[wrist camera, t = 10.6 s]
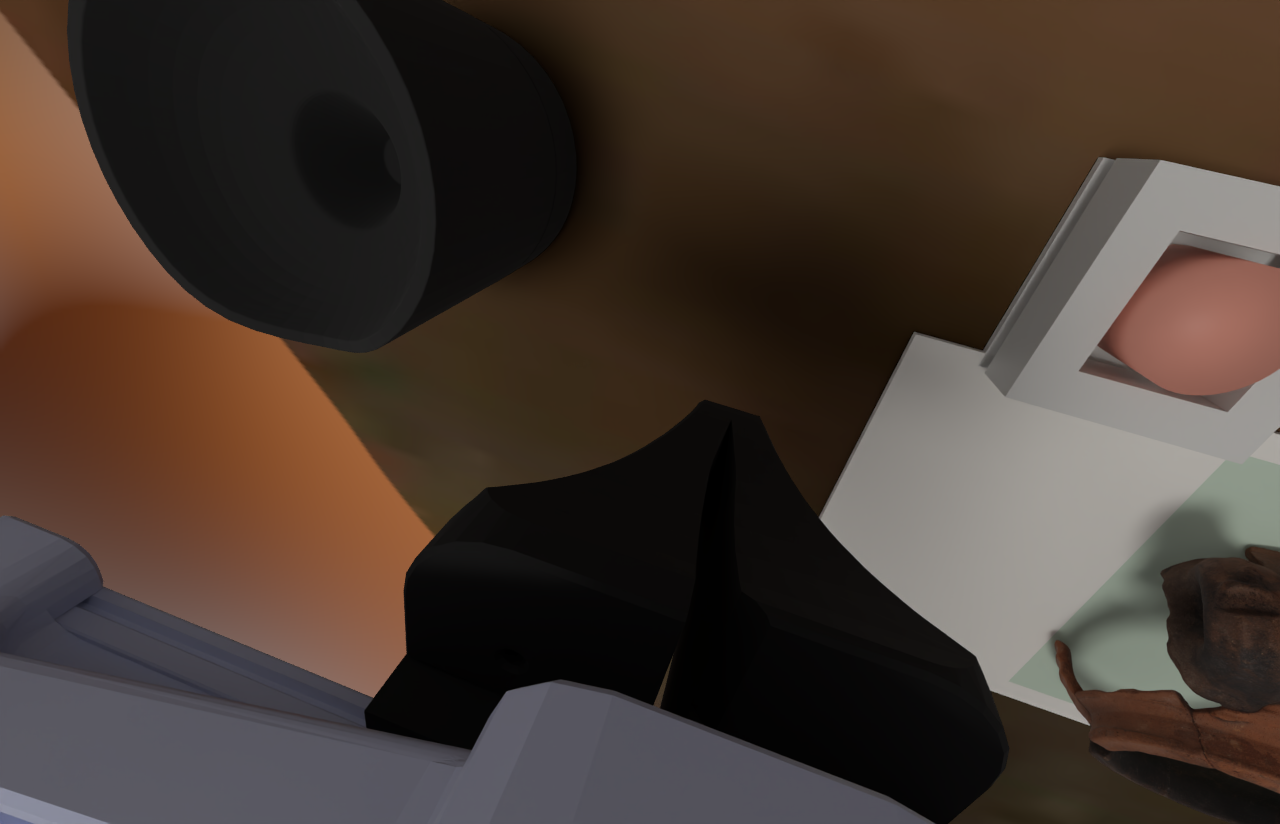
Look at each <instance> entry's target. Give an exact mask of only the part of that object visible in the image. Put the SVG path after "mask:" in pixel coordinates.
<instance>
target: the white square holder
mask: <svg viewBox="0 0 1280 824" xmlns="http://www.w3.org/2000/svg"><path fill="white" fill-rule="evenodd" d="M1172 244H1177V245H1187V246H1193V247H1197V248H1201V249H1205V250H1209V251H1213V252H1216V253H1220V254H1224V255H1228V256H1232V257H1236V258H1240V259H1244V260H1248V261H1252V262H1256V263H1260V264H1264V265H1268V266H1272V267H1276V268H1280V186H1275V185H1271V184H1266V183H1262V182H1257V181H1253V180H1248V179H1244V178H1239V177H1235V176H1230V175H1226V174H1221V173H1217V172H1212V171H1208V170H1203V169H1199V168H1194V167H1190V166H1185V165H1181V164H1177V163H1172V162H1168V161H1163V160H1150V159H1127V158H1117V159H1116V160H1113V159H1108V158H1103V157H1098V159H1097V161H1096V162H1095V164H1094V166H1093V167H1092V169H1091V171H1090V172H1089V174H1088V176H1087V177H1086V179H1085V181H1084V182H1083V184H1082V186H1081V187H1080V189H1079V191H1078V192H1077V194H1076V196H1075V197H1074V199H1073V201H1072V202H1071V204H1070V206H1069V207H1068V209H1067V211H1066V213H1065V214H1064V216H1063V218H1062V219H1061V221H1060V223H1059V224H1058V226H1057V228H1056V229H1055V231H1054V233H1053V234H1052V236H1051V238H1050V239H1049V241H1048V243H1047V244H1046V246H1045V248H1044V249H1043V251H1042V253H1041V254H1040V256H1039V258H1038V259H1037V261H1036V263H1035V264H1034V266H1033V268H1032V269H1031V271H1030V273H1029V274H1028V276H1027V278H1026V279H1025V281H1024V283H1023V284H1022V286H1021V288H1020V289H1019V291H1018V293H1017V294H1016V296H1015V298H1014V299H1013V301H1012V303H1011V304H1010V306H1009V308H1008V309H1007V311H1006V313H1005V314H1004V316H1003V318H1002V319H1001V321H1000V323H999V324H998V326H997V328H996V329H995V331H994V333H993V334H992V336H991V338H990V339H989V341H988V343H987V345H986V346H985V348H984V350H983V351H984V352H985V353H986V355H985V356H984V358H983V359H985V357H986V359H985V360H983V359H982V361H981V363H982V364H979V365H978V366H981V367H985V368H987V370H986V371H985V374H986V375H987V377H988V378H989V379H990V380H991V381H992V382H993V384H994V385H995V386H996V387H997V388H998V389H999V391H1000V392H1001V393H1002V394H1003V395H1004V396H1005V397H1007V398H1010V399H1014V400H1017V401H1021V402H1024V403H1028V404H1031V405H1035V406H1038V407H1042V408H1045V409H1049V410H1052V411H1056V412H1059V413H1063V414H1066V415H1070V416H1073V417H1077V418H1080V419H1084V420H1087V421H1091V422H1094V423H1098V424H1102V425H1105V426H1109V427H1112V428H1116V429H1119V430H1123V431H1126V432H1130V433H1133V434H1137V435H1140V436H1144V437H1147V438H1151V439H1154V440H1158V441H1161V442H1165V443H1168V444H1172V445H1175V446H1179V447H1182V448H1186V449H1189V450H1193V451H1196V452H1200V453H1203V454H1207V455H1210V456H1214V457H1217V458H1221V459H1224V460H1228V461H1231V462H1235V463H1238V464H1243V463H1244V462H1245V461H1246V460H1247V459H1248V458H1249V457H1250V456H1251V455H1252V454H1253V453H1254V452H1255V451H1256V450H1257V449H1258V448H1259V447H1260V446H1261V445H1262V444H1263V443H1264V442H1265V441H1266V440H1267V439H1268V438H1269V437H1270V436H1271V435H1272V434H1273V433H1274V432H1275V431H1276V430H1277V429H1278V428H1279V427H1280V369H1279V370H1277V371H1276V372H1274V373H1273V374H1271V375H1269V376H1267V377H1266V378H1264V379H1262V380H1260V381H1258V382H1256V383H1253V384H1251V385H1249V386H1246V387H1243V388H1240V389H1237V390H1234V391H1230V392H1226V393H1220V394H1214V395H1184V394H1179V393H1174V392H1171V391H1168V390H1166V389H1164V388H1162V387H1160V386H1158V385H1156V384H1155V383H1153V382H1152V381H1150V380H1149V379H1147V378H1145V377H1144V376H1142V375H1141V374H1139V373H1138V372H1136V371H1135V370H1133V369H1132V368H1130V367H1129V366H1127V365H1126V364H1124V363H1123V362H1121V361H1119V360H1118V359H1116V358H1115V357H1113V356H1112V355H1110V354H1109V353H1107V352H1106V351H1104V350H1103V349H1101V348H1100V347H1098V346H1097V345H1098V343H1099V342H1100V340H1101V339H1102V338H1103V336H1104V335H1105V333H1106V332H1107V331H1108V329H1109V328H1110V326H1111V325H1112V324H1113V322H1114V321H1115V319H1116V318H1117V317H1118V315H1119V314H1120V313H1121V311H1122V310H1123V308H1124V307H1125V306H1126V304H1127V303H1128V301H1129V300H1130V299H1131V297H1132V296H1133V294H1134V293H1135V292H1136V290H1137V289H1138V288H1139V286H1140V285H1141V283H1142V282H1143V281H1144V279H1145V278H1146V276H1147V275H1148V274H1149V272H1150V271H1151V269H1152V268H1153V267H1154V265H1155V264H1156V262H1157V261H1158V260H1159V258H1160V257H1161V256H1162V254H1163V253H1164V251H1165V250H1166V249H1167V247H1168V246H1169V245H1172ZM989 356H990V357H989ZM987 357H988V358H987ZM984 361H986V362H984ZM987 361H988V362H987ZM991 361H992V362H991ZM983 363H984V365H985V366H984V365H983ZM987 365H988V366H987Z"/></svg>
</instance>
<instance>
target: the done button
mask: <svg viewBox="0 0 1280 824" xmlns="http://www.w3.org/2000/svg"><path fill="white" fill-rule="evenodd" d="M1097 346H1098V347H1100V348H1101V349H1103V350H1104V351H1106V352H1107V353H1109V354H1110V355H1112V356H1113V357H1115V358H1116V359H1118V360H1119V361H1121V362H1123V363H1124V364H1126V365H1127V366H1129V367H1130V368H1132V369H1133V370H1135V371H1136V372H1138V373H1139V374H1141V375H1142V376H1144V377H1145V378H1147V379H1149V380H1150V381H1152V382H1153V383H1155V384H1156V385H1158V386H1160V387H1162V388H1164V389H1166V390H1168V391H1171V392H1174V393H1179V394H1184V395H1214V394H1220V393H1226V392H1230V391H1234V390H1237V389H1240V388H1243V387H1246V386H1249V385H1251V384H1253V383H1256V382H1258V381H1260V380H1262V379H1264V378H1266V377H1267V376H1269V375H1271V374H1273V373H1274V372H1276V371H1277V370H1279V369H1280V268H1276V267H1272V266H1268V265H1264V264H1260V263H1256V262H1252V261H1248V260H1244V259H1240V258H1236V257H1232V256H1228V255H1224V254H1220V253H1216V252H1213V251H1209V250H1205V249H1201V248H1197V247H1193V246H1187V245H1177V244H1172V245H1169V246H1168V247H1167V249H1166V250H1165V251H1164V253H1163V254H1162V256H1161V257H1160V258H1159V260H1158V261H1157V262H1156V264H1155V265H1154V267H1153V268H1152V269H1151V271H1150V272H1149V274H1148V275H1147V276H1146V278H1145V279H1144V281H1143V282H1142V283H1141V285H1140V286H1139V288H1138V289H1137V290H1136V292H1135V293H1134V294H1133V296H1132V297H1131V299H1130V300H1129V301H1128V303H1127V304H1126V306H1125V307H1124V308H1123V310H1122V311H1121V313H1120V314H1119V315H1118V317H1117V318H1116V319H1115V321H1114V322H1113V324H1112V325H1111V326H1110V328H1109V329H1108V331H1107V332H1106V333H1105V335H1104V336H1103V338H1102V339H1101V340H1100V342H1099V343H1098V345H1097Z"/></svg>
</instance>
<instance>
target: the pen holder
mask: <svg viewBox="0 0 1280 824" xmlns="http://www.w3.org/2000/svg"><path fill="white" fill-rule="evenodd" d="M67 34H68V49H69V62H70V67H71V73H72V79H73V85H74V91H75V95H76V99H77V102H78V106H79V110H80V114H81V118H82V121H83V124H84V127H85V130H86V132H87V135H88V138H89V141H90V144H91V147H92V150H93V152H94V154H95V157H96V159H97V161H98V163H99V166H100V168H101V171H102V173H103V175H104V177H105V179H106V181H107V183H108V185H109V187H110V189H111V190H112V192H113V194H114V196H115V198H116V200H117V202H118V204H119V205H120V207H121V208H122V210H123V212H124V214H125V215H126V217H127V219H128V220H129V222H130V224H131V225H132V227H133V228H134V230H135V231H136V232H137V234H138V235H139V237H140V238H141V239H142V241H143V242H144V244H145V245H146V247H147V248H148V249H149V251H150V252H151V253H152V254H153V255H154V257H155V258H156V259H157V260H158V262H159V263H160V264H161V265H162V266H163V268H164V269H165V270H166V271H167V272H168V273H169V274H170V275H171V276H172V277H173V278H174V279H175V280H176V281H177V282H178V283H179V284H180V285H181V287H183V288H184V289H185V290H186V291H187V292H188V293H189V294H191V295H192V296H193V297H194V298H196V299H197V300H198V301H200V302H201V303H202V304H203V305H205V306H206V307H208V308H209V309H211V310H213V311H214V312H216V313H218V314H220V315H221V316H223V317H225V318H226V319H228V320H230V321H233V322H235V323H238V324H240V325H243V326H245V327H248V328H250V329H253V330H256V331H259V332H263V333H266V334H270V335H273V336H276V337H280V338H284V339H289V340H293V341H298V342H302V343H307V344H312V345H317V346H322V347H327V348H332V349H337V350H342V351H348V352H354V353H363V352H369V351H372V350H376V349H378V348H380V347H382V346H384V345H386V344H387V343H389V342H391V341H393V340H394V339H396V338H398V337H400V336H401V335H403V334H405V333H407V332H409V331H410V330H412V329H414V328H416V327H417V326H419V325H421V324H423V323H425V322H426V321H428V320H430V319H432V318H433V317H435V316H437V315H439V314H440V313H442V312H444V311H446V310H448V309H449V308H451V307H453V306H455V305H456V304H458V303H460V302H462V301H463V300H465V299H467V298H469V297H471V296H472V295H474V294H476V293H478V292H479V291H481V290H483V289H485V288H486V287H488V286H490V285H492V284H493V283H495V282H497V281H499V280H500V279H502V278H504V277H505V276H507V275H509V274H511V273H512V272H513V271H515V270H517V269H518V268H520V267H522V266H524V265H525V264H527V263H528V262H530V261H532V260H533V259H534V258H536V257H537V256H538V255H539V254H541V253H542V252H543V251H544V250H545V249H546V248H547V247H548V246H549V245H550V244H551V243H552V241H553V240H554V239H555V238H556V236H557V235H558V233H559V232H560V230H561V229H562V227H563V224H564V222H565V220H566V218H567V216H568V213H569V210H570V207H571V204H572V201H573V196H574V191H575V184H576V172H577V167H576V150H575V143H574V136H573V132H572V128H571V124H570V120H569V117H568V115H567V112H566V109H565V107H564V104H563V102H562V100H561V98H560V96H559V94H558V92H557V90H556V88H555V86H554V84H553V83H552V81H551V80H550V78H549V77H548V75H547V74H546V72H545V71H544V69H543V68H542V67H541V66H540V65H539V63H538V62H537V61H536V60H535V59H534V57H532V56H531V55H530V54H529V53H528V52H527V51H526V50H525V49H524V48H523V47H522V46H521V45H520V44H518V43H517V42H515V41H514V40H513V39H511V38H510V37H508V36H507V35H506V34H504V33H502V32H501V31H499V30H497V29H495V28H493V27H492V26H490V25H488V24H486V23H484V22H482V21H480V20H478V19H476V18H474V17H473V16H471V15H469V14H468V13H466V12H464V11H462V10H460V9H458V8H456V7H454V6H452V5H450V4H448V3H446V2H444V1H442V0H69V3H68V25H67Z"/></svg>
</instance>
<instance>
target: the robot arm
mask: <svg viewBox="0 0 1280 824" xmlns="http://www.w3.org/2000/svg"><path fill="white" fill-rule="evenodd" d="M404 609H405V630H406V651H407V654H406V656H405V657H404V658H403V659H402V661H401V662H400V664H399V665H398V666H397V667H396V669H395V670H394V671H393V673H392V674H391V675H390V677H389V678H388V680H387V681H386V682H385V684H384V685H383V686H382V687H381V689H380V690H379V691H378V693H377V694H376V695H375V697H374V698H372V697H370V696H367V695H365V694H362V693H360V692H358V691H355V690H353V689H350V688H348V687H346V686H343V685H341V684H338V683H336V682H333V681H331V680H328V679H326V678H324V677H321V676H319V675H316V674H314V673H312V672H309V671H307V670H304V669H302V668H299V667H297V666H294V665H292V664H290V663H287V662H285V661H282V660H280V659H278V658H275V657H273V656H270V655H268V654H265V653H263V652H260V651H258V650H255V649H253V648H251V647H249V646H246V645H243V644H241V643H239V642H236V641H234V640H231V639H229V638H227V637H224V636H222V635H219V634H217V633H215V632H212V631H210V630H207V629H205V628H202V627H200V626H198V625H195V624H193V623H190V622H188V621H185V620H183V619H181V618H178V617H176V616H173V615H171V614H168V613H166V612H163V611H161V610H158V609H156V608H154V607H151V606H149V605H146V604H144V603H142V602H139V601H137V600H135V599H132V598H130V597H127V596H125V595H122V594H120V593H117V592H115V591H113V590H110V589H108V588H105V587H103V579H102V576H101V573H100V570H99V568H98V566H97V564H96V562H95V561H94V559H93V558H92V557H91V555H90V554H89V553H88V552H87V551H86V550H85V549H84V548H83V547H81V546H80V545H79V544H77V543H76V542H74V541H72V540H70V539H69V538H66V537H64V536H61V535H59V534H56V533H54V532H51V531H49V530H46V529H44V528H42V527H39V526H37V525H34V524H32V523H29V522H27V521H24V520H22V519H19V518H17V517H13V516H2V517H0V824H948V823H949V822H950V821H952V820H953V819H954V818H955V817H956V816H957V815H959V814H960V813H961V812H962V811H963V810H964V809H966V808H967V807H968V806H969V805H970V804H971V803H973V802H974V801H975V800H976V799H977V798H978V797H980V796H981V795H982V794H983V793H984V792H985V791H986V790H988V789H989V788H990V787H991V786H992V784H993V783H994V782H995V781H996V779H997V778H998V777H999V776H1000V774H1001V773H1002V772H1003V771H1004V769H1005V767H1006V762H1007V757H1008V752H1009V746H1008V742H1007V739H1006V735H1005V732H1004V728H1003V725H1002V722H1001V719H1000V717H999V714H998V711H997V708H996V705H995V703H994V700H993V697H992V694H991V691H990V689H989V686H988V684H987V681H986V679H985V676H984V674H983V671H982V669H981V667H980V664H979V662H978V660H977V658H976V656H975V655H974V654H972V653H971V652H969V651H968V650H967V649H965V648H964V647H963V646H961V645H960V644H959V643H957V642H956V641H955V640H953V639H952V638H950V637H949V636H948V635H946V634H945V633H944V632H942V631H941V630H940V629H938V628H937V627H936V626H934V625H933V624H931V623H930V622H929V621H927V620H926V619H925V618H923V617H922V616H921V615H919V614H918V613H917V612H915V611H914V610H913V609H912V608H910V607H909V606H908V605H907V604H906V603H904V602H903V601H902V600H901V599H900V598H899V597H897V596H896V595H895V594H894V593H893V592H892V591H890V590H889V589H888V588H887V587H886V586H884V585H883V584H882V583H881V582H880V581H879V580H878V579H877V578H876V577H874V576H873V575H872V574H871V573H870V572H869V571H868V570H867V569H866V568H865V567H864V566H863V565H862V564H861V563H860V562H859V561H858V560H857V559H856V558H855V557H854V556H853V555H852V554H851V553H850V552H849V551H848V550H847V549H846V548H845V547H844V546H843V545H842V544H841V543H840V542H839V541H838V540H837V539H836V537H835V536H834V535H833V534H832V533H831V532H830V531H829V530H828V528H827V527H826V526H825V525H824V523H823V522H822V521H821V520H820V518H819V517H818V516H817V515H816V514H815V512H814V511H813V510H812V509H811V507H810V506H809V504H808V503H807V502H806V500H805V499H804V498H803V496H802V495H801V493H800V492H799V490H798V488H797V487H796V485H795V484H794V482H793V481H792V479H791V478H790V476H789V474H788V473H787V471H786V469H785V467H784V466H783V464H782V462H781V460H780V458H779V456H778V454H777V452H776V450H775V448H774V446H773V444H772V442H771V440H770V438H769V436H768V433H767V431H766V429H765V427H764V425H763V422H762V420H761V418H760V416H757V415H753V414H750V413H747V412H744V411H740V410H737V409H734V408H730V407H727V406H724V405H721V404H717V403H714V402H711V401H708V400H704V401H702V402H700V403H699V404H698V405H697V406H696V407H695V409H694V410H693V411H692V412H691V413H690V414H689V415H687V416H686V417H685V418H684V419H683V420H682V421H681V422H679V423H678V424H677V425H675V426H674V427H673V428H672V429H670V430H669V431H668V432H666V433H665V434H664V435H662V436H660V437H659V438H657V439H656V440H654V441H653V442H651V443H650V444H648V445H646V446H645V447H643V448H641V449H639V450H638V451H636V452H634V453H632V454H630V455H628V456H626V457H624V458H622V459H619V460H617V461H615V462H613V463H610V464H607V465H604V466H601V467H598V468H595V469H593V470H590V471H587V472H583V473H579V474H575V475H571V476H567V477H563V478H558V479H553V480H548V481H542V482H536V483H528V484H519V485H509V486H500V487H487V488H485V489H484V490H483V491H482V492H481V493H480V494H479V495H477V496H476V497H475V498H474V499H473V500H472V501H470V502H469V503H468V504H467V505H465V506H464V507H463V508H462V509H461V510H460V511H459V512H458V513H457V514H456V515H455V516H453V517H452V518H451V519H450V520H449V521H448V522H447V524H446V525H445V526H444V527H443V528H442V529H441V530H440V531H439V532H438V534H437V535H436V536H435V537H434V538H433V539H432V540H431V541H430V542H429V544H428V545H427V546H426V547H425V548H424V549H423V550H422V551H421V552H420V554H419V555H418V556H417V557H416V558H415V560H414V562H413V563H412V564H411V566H410V568H409V569H408V571H407V572H406V578H405V585H404ZM673 653H674V655H673ZM672 656H673V659H672V663H671V667H670V671H669V675H668V679H667V683H666V687H665V691H664V694H663V698H662V702H661V706H660V708H658V707H655V706H653V705H654V702H655V700H656V697H657V694H658V692H659V689H660V687H661V684H662V682H663V679H664V676H665V674H666V671H667V669H668V666H669V664H670V661H671V658H672Z"/></svg>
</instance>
